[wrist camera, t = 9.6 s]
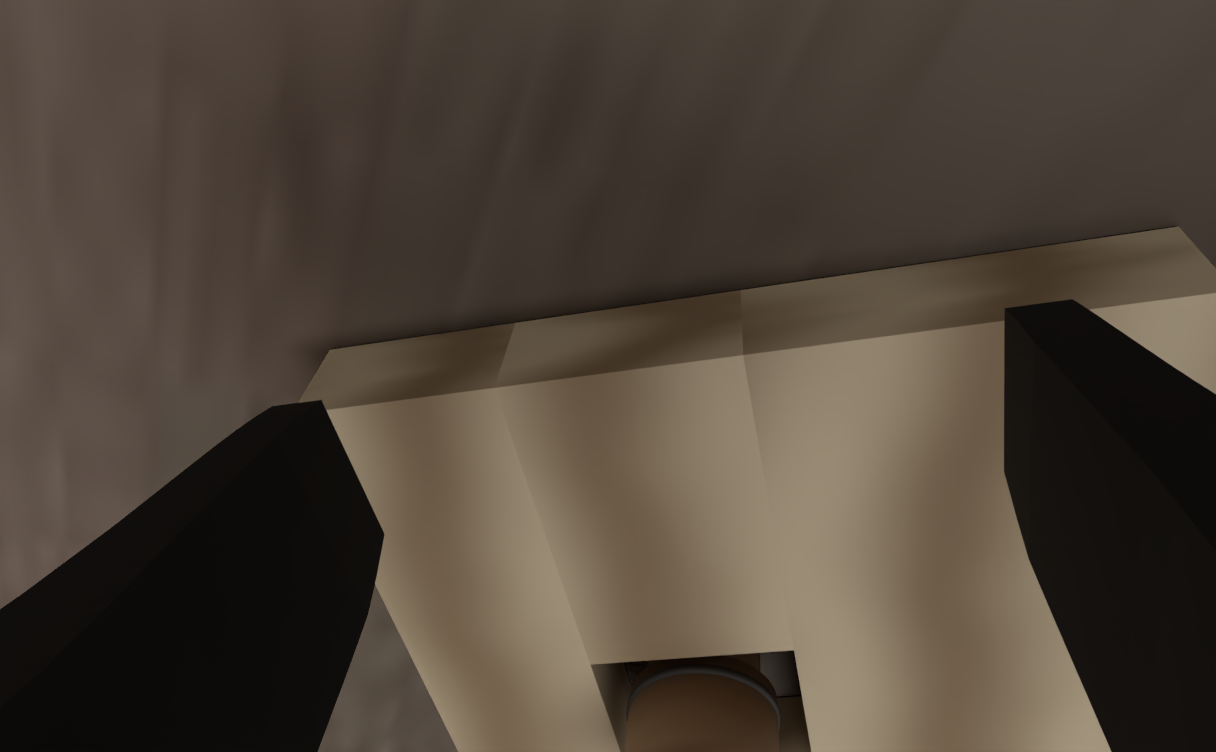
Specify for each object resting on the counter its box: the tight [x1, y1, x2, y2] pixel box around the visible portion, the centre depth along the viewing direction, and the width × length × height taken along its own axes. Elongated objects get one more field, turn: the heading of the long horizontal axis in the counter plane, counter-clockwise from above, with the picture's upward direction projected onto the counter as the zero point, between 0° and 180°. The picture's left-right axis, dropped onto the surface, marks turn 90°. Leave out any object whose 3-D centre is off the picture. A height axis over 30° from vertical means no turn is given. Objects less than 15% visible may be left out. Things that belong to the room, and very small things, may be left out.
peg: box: [625, 653, 780, 752], centre depth 24 cm, size 4×4×7 cm
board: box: [298, 227, 1216, 752], centre depth 24 cm, size 18×18×2 cm
